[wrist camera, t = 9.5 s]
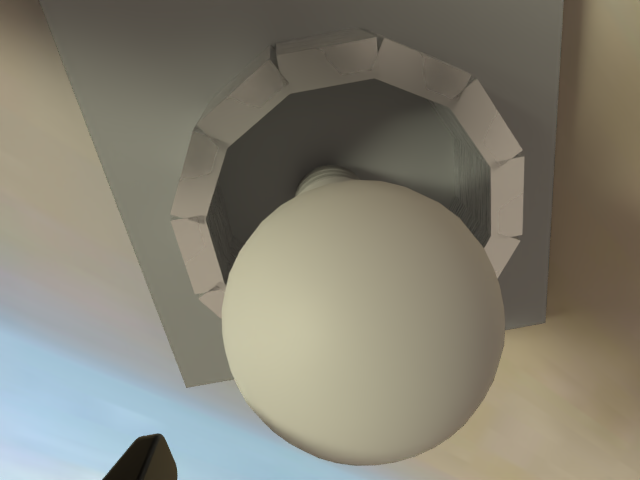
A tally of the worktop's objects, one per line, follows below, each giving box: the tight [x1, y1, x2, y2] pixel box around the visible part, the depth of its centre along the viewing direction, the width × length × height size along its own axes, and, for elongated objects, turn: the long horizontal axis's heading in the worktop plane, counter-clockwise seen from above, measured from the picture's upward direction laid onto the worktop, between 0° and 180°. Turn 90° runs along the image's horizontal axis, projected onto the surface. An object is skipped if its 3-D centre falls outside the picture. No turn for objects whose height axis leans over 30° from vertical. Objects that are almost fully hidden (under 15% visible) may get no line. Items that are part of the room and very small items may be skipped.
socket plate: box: [39, 0, 564, 388], centre depth 19 cm, size 16×16×2 cm
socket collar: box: [170, 27, 524, 319], centre depth 17 cm, size 10×10×4 cm
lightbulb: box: [222, 165, 505, 466], centre depth 13 cm, size 6×6×11 cm
